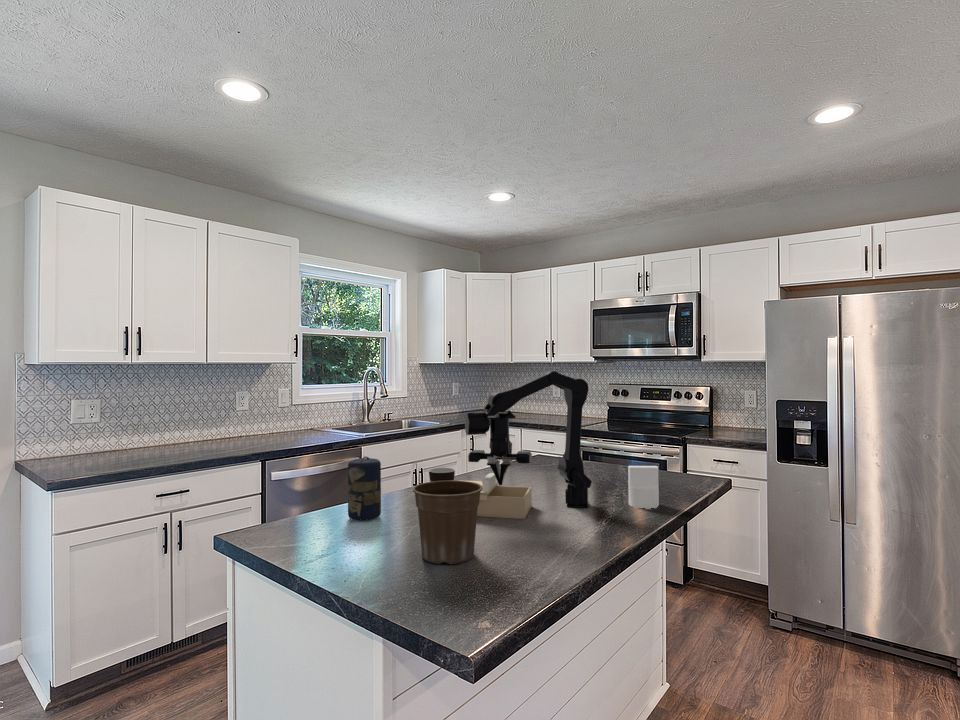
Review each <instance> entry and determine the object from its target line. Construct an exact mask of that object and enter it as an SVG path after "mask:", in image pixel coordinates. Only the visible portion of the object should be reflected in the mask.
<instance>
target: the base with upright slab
mask: <svg viewBox="0 0 960 720" xmlns="http://www.w3.org/2000/svg"><path fill="white" fill-rule="evenodd" d="M627 471H628V474H627V478H628V482H627V483H628V485H627V486H628V506H629V505H630V507H631V506H633V507H632V508H634V507H637V508H636V509H639V508H645V509H644V510H652V509H651V508H654V509H658V508H659V507H658V506H660V505H659V504H660V502H659V501H660V500H659V498H660V497H659V496H660V494H659V490H660V489H659V487H660V486H659V466H658V465H628V466H627ZM657 507H658V508H657Z"/></svg>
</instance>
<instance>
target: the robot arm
mask: <svg viewBox="0 0 960 720" xmlns="http://www.w3.org/2000/svg"><path fill="white" fill-rule="evenodd" d="M550 386H554V387H556V388H559V389H561V390H563V394H564V399H565V403H566V407H567V410H566V411H567V412H566V429H565V444H564V446H565V448H564V449H565V451H564V453H563V455H562V456H561V455H560V456H557V458H558V459H557V461H558V466H557V470H559V471H558V473H559V475H560V477H562V478H563V479H564V481H565V483H566V484H567V485H566V489H565V492H564V493H565V504H566V508H584V509H585V508H586V509H587V508H589V503H590V501H589V489H590V488H591V485H592V480H591V479H590V478H589V477H588V476H587V475H586V474H585V468H584V462H583V459H582V455H581V441H582V440H581V439H582V422H583V421H582V420H583V419H582V418H583V408H584V405H585V403H586V401H587V399H588V393H589V389H590V388H589V383H588V382H587V381H586V380H585V379H584V378H577V377H570V376H567V375H565V374H562V373H559V372H558V371H556V370H547V371H546V372H545V373H544V374H542V375H539V376H537V377H535V378H533V379H530V380H528V381H526V382H524V383H522V384H520V385H517V386H515V387H512V388H507V389H502V390H499V391H494V392H492V393H491V394H489V397H488V399H487V403H486V405H485V406H484V408H483V409H482V410H481V412H473V411H472V412H471V411H466V415H465V416H466V417H465V422H464V431H465V434H466V436H473V435H474V436H476V435H486V434H487V432H489V435H490V437H489V449H490V452H489V453H487V452H486V451H485V450H484V449H481V450H480V449H474V450H472V451H470V452H469V453H468V456H467V459H468V462H469V463H479V462H480V461H481V460H487V463H486V465H487V466H489V467H490V468H491V470H492V473H494V474H495V476H496V482H498V486H503V483H504V480H505V477H506V473H507V470H508V468H509V466H510V467H511V466H512V465H513V464H514V461H516V462H517V463H518V464H531V462H532V461H533V454H532V452H531V451H530V450H519V451H517V453H513V443H512V441H510V420H511V419H512V420H513V419H516V416H515V414H513V412H512V411H511V410H509V409H510V408H512V407H514V406H515V405H516V404H517V403H518V402H519V401H521V400H522V399H524V398H527V397H529V396H531V395H533V394H535V393H537V392H539V391H542V390H544V389H547V388H549V387H550ZM501 460H502V462H501Z"/></svg>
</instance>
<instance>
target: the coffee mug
mask: <svg viewBox="0 0 960 720" xmlns="http://www.w3.org/2000/svg"><path fill="white" fill-rule="evenodd" d="M455 472H456V469H455V468H452V467H433V468H431V469H428V477H429V482H433V481H446V480H455V474H456V473H455Z"/></svg>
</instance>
